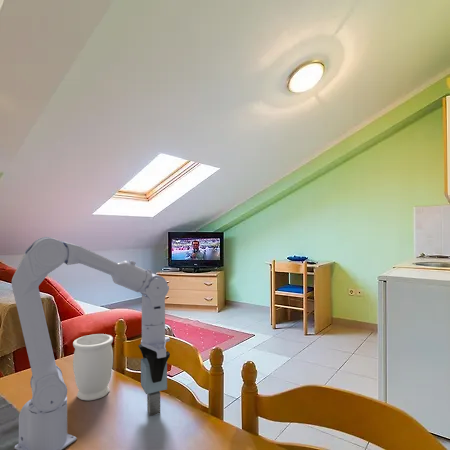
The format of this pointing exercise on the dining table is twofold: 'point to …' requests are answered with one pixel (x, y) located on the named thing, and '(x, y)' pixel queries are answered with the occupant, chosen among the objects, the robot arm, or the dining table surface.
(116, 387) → the dining table surface
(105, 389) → the jar
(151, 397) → the post
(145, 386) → the tall grey box
